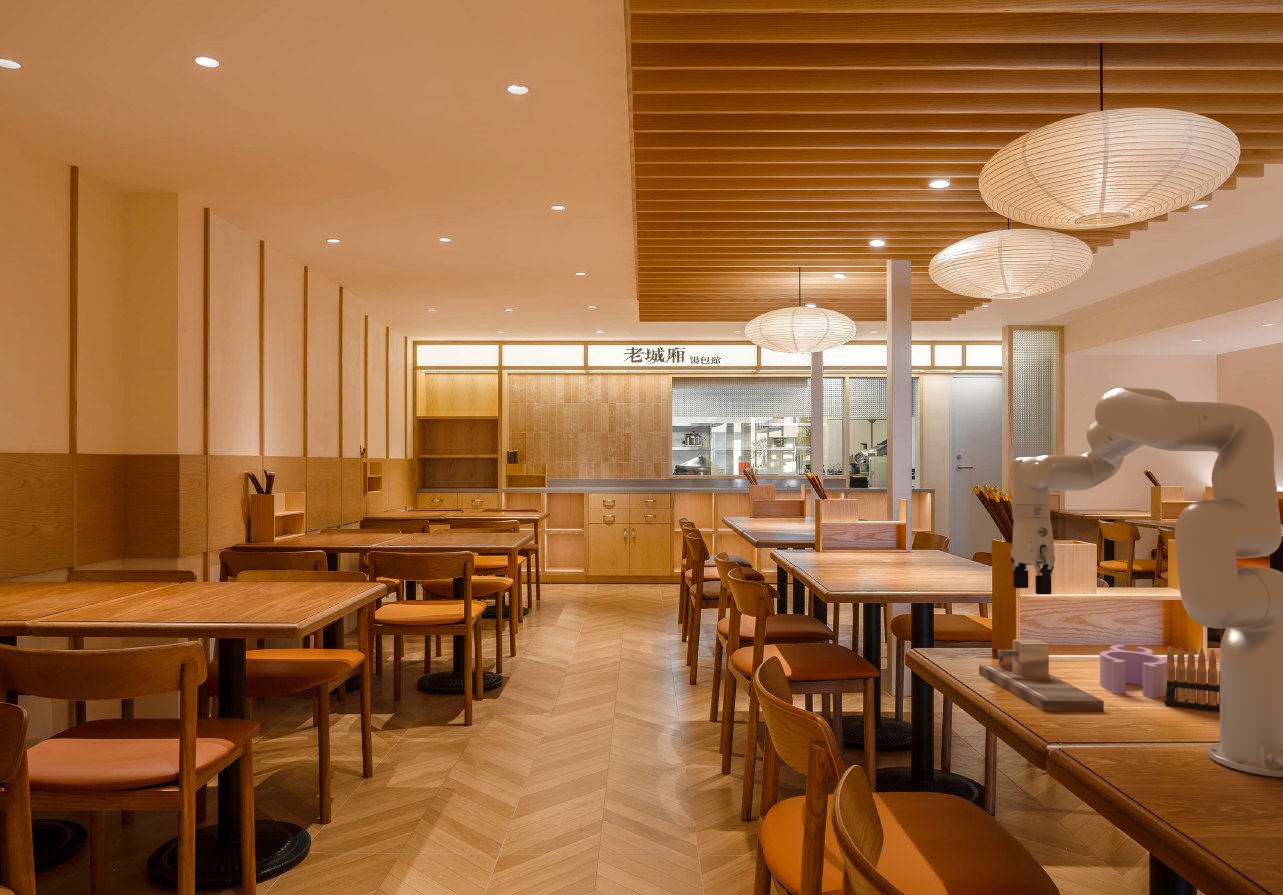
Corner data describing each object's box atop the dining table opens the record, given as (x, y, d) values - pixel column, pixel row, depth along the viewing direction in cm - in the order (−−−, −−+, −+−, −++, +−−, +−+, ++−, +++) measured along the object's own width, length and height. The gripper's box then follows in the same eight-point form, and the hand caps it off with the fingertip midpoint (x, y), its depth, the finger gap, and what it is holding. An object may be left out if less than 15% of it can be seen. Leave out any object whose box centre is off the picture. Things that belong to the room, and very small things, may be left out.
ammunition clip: (1165, 706, 164) (1165, 645, 164) (1164, 703, 165) (1164, 644, 166) (1230, 713, 159) (1230, 651, 159) (1228, 711, 161) (1228, 649, 161)
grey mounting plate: (1103, 711, 160) (1103, 685, 160) (1043, 710, 159) (1043, 684, 159) (1030, 674, 188) (1030, 652, 188) (979, 673, 187) (979, 651, 187)
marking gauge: (1048, 676, 178) (1048, 643, 178) (1003, 675, 178) (1003, 643, 178) (1039, 671, 182) (1039, 639, 182) (994, 671, 182) (994, 639, 182)
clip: (1099, 672, 191) (1099, 642, 191) (1162, 680, 185) (1162, 649, 185) (1100, 693, 173) (1100, 660, 173) (1170, 702, 167) (1170, 668, 167)
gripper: (1069, 514, 172) (1070, 596, 172) (1028, 511, 189) (1028, 585, 189) (1034, 514, 172) (1035, 596, 171) (996, 511, 189) (996, 585, 189)
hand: (1031, 590), depth 180 cm, fingers open, 9 cm apart
